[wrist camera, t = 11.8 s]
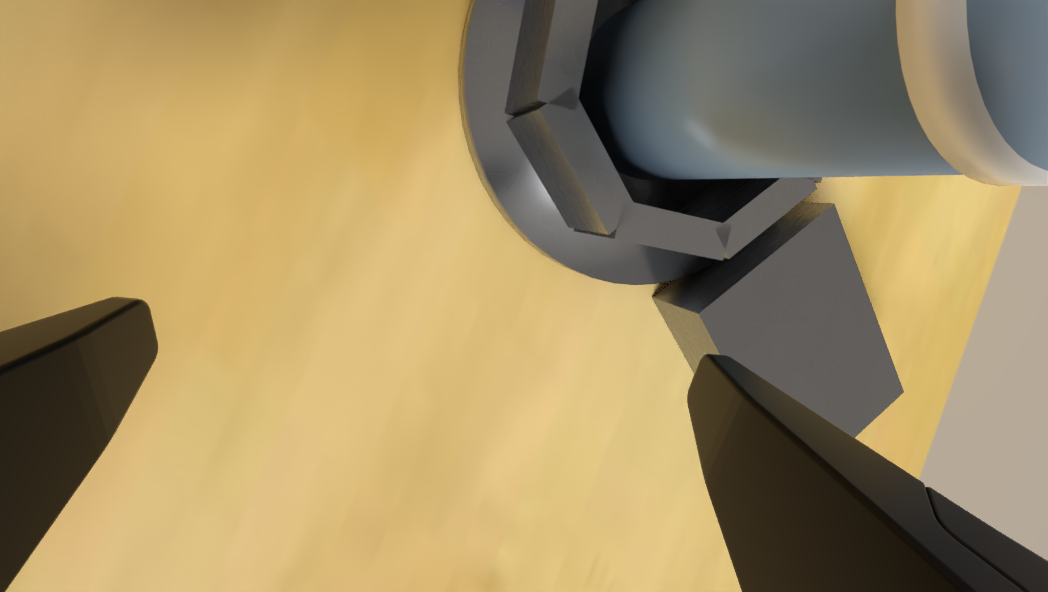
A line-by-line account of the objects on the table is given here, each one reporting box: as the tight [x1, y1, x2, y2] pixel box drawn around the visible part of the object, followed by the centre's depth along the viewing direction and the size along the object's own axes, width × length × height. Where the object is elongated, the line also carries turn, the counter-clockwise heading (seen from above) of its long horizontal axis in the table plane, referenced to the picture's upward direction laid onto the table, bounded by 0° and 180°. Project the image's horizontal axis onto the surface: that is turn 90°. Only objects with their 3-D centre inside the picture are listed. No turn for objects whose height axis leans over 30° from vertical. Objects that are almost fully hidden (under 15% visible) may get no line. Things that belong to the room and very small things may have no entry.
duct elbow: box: [578, 0, 1048, 186], centre depth 14 cm, size 10×6×12 cm, turn 133°
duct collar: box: [458, 0, 904, 438], centre depth 20 cm, size 24×14×4 cm, turn 33°
